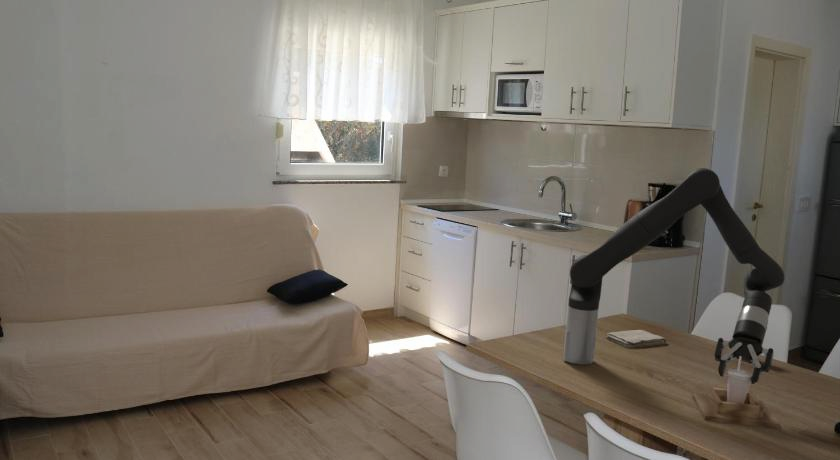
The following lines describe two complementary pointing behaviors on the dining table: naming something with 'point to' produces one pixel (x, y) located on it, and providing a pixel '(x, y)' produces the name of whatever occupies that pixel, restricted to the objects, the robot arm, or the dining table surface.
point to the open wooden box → (734, 409)
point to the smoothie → (738, 384)
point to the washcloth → (635, 338)
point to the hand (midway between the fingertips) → (736, 378)
